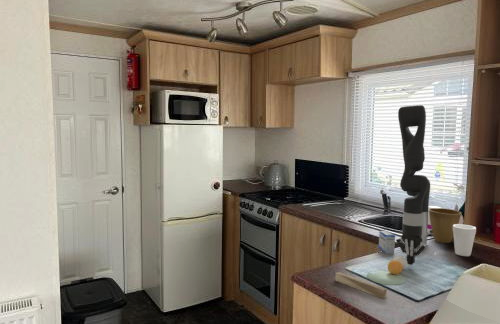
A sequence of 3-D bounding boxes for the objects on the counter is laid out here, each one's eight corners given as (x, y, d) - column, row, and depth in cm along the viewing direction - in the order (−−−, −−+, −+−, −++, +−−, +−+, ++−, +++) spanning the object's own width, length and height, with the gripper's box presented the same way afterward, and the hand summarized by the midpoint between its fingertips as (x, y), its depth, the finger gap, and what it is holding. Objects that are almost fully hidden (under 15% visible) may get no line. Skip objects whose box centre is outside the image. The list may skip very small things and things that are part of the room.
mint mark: (361, 271, 156) (361, 271, 156) (395, 271, 157) (395, 270, 157) (375, 285, 142) (375, 284, 142) (412, 284, 143) (412, 284, 143)
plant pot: (442, 246, 193) (443, 214, 191) (421, 238, 207) (422, 208, 206) (466, 244, 196) (468, 213, 195) (444, 236, 211) (446, 207, 209)
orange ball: (387, 270, 157) (383, 260, 155) (399, 265, 157) (396, 255, 155) (393, 279, 152) (390, 269, 150) (406, 273, 152) (403, 263, 150)
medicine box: (378, 248, 188) (379, 230, 187) (387, 248, 188) (387, 230, 187) (385, 253, 180) (386, 235, 179) (394, 253, 180) (395, 235, 180)
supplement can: (443, 235, 212) (444, 208, 211) (427, 234, 214) (428, 207, 212) (439, 232, 220) (440, 205, 219) (423, 231, 222) (424, 205, 220)
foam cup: (469, 258, 174) (471, 230, 173) (448, 253, 181) (449, 226, 180) (477, 254, 180) (479, 226, 179) (456, 249, 187) (457, 223, 186)
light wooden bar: (338, 279, 147) (339, 271, 147) (386, 297, 132) (386, 288, 132) (335, 280, 146) (335, 272, 146) (383, 298, 131) (383, 290, 130)
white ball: (395, 256, 164) (393, 269, 162) (393, 253, 159) (391, 266, 158) (409, 259, 161) (407, 272, 159) (407, 255, 157) (405, 269, 155)
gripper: (392, 221, 163) (391, 261, 164) (423, 227, 152) (421, 270, 154) (402, 218, 167) (400, 258, 169) (432, 224, 157) (430, 266, 159)
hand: (410, 264), depth 161 cm, fingers closed
